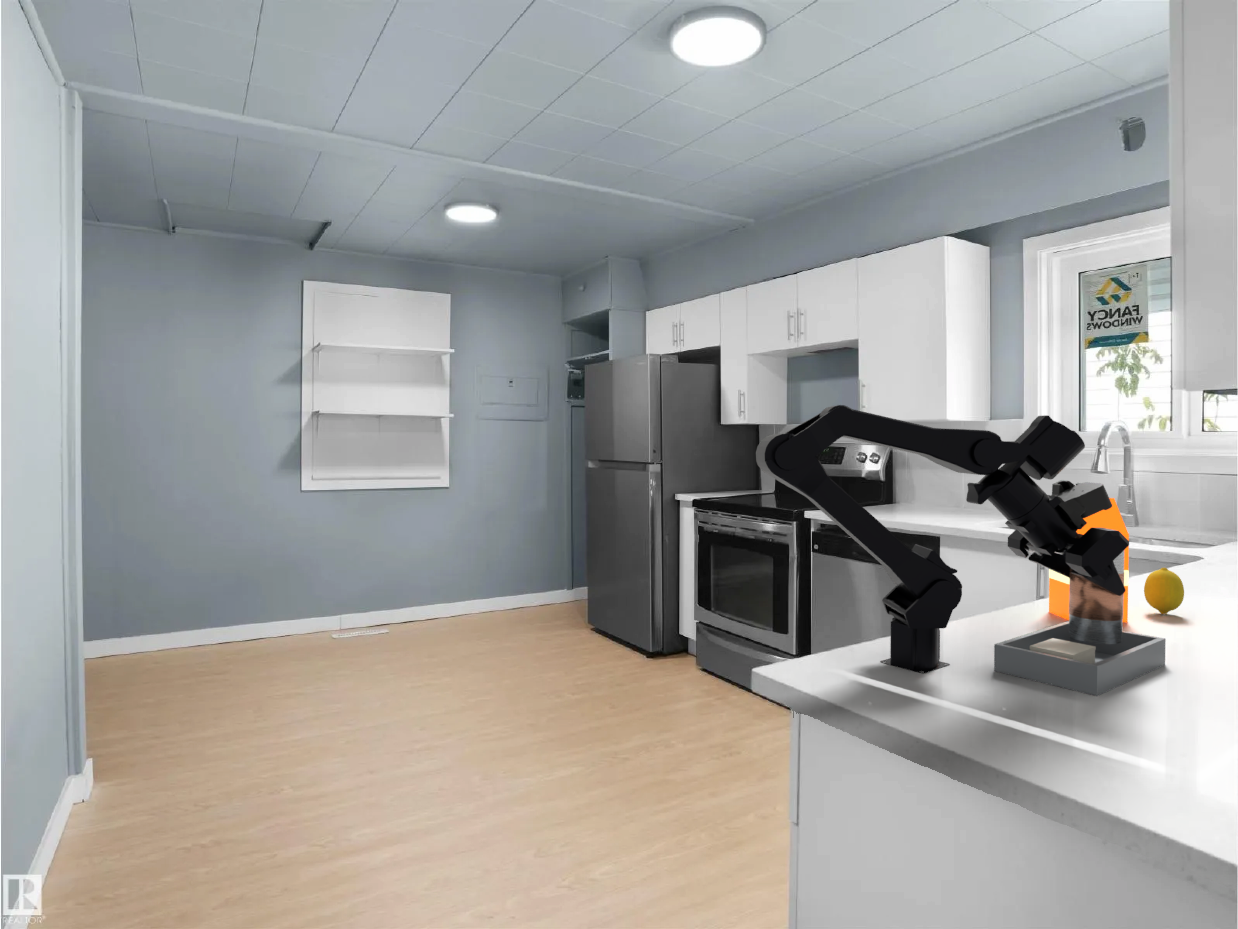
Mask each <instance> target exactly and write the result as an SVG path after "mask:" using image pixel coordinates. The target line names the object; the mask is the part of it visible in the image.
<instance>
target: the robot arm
mask: <svg viewBox="0 0 1238 929" xmlns="http://www.w3.org/2000/svg"><path fill="white" fill-rule="evenodd" d="M841 438H845V439H850V440H855V441H860V442H863V443H868V444H871V445H872V444H873V445H876V446H881V447H886V448H889V449H894V450H896V451H897V450H898V451H902V452H906V453H911V454H916V455H919V456H921V457H923V458H925V459H927V460H929V461H931V462H933V463H935V464H937V465H939V466H940V467H943V468H945V469H949V470H950V471H953V472H956V473H960V474H967V475H978V476H983V477H982V478H981V479H980V480H979V481H978V482H975V483H974V482H967V493H966V498H965V499H966V502H967V503H968V504H969V503H970V504H976V505H983V504H985V502H986V501H987V500H988V502H990V504H992V505H993V507H995V508H996V509H997V511H999V512H1000V513H1001V515H1002V516H1003V517H1005V519H1006V520H1007V521H1006V522H1005V525H1006V526H1007V527H1008V528H1009V529H1012V530H1014V531H1012V533H1011V534H1009V536H1007V548H1009V549H1010V550H1011V551H1012V552H1013V553H1014V555H1015V556H1017V557H1021V558H1025V559H1026V558H1027V559H1028V561H1030V562H1033V563H1034V564H1036V565H1039V566H1041V567H1044V568H1045V569H1048V570H1049V569H1050V570H1053V571H1055V572H1057V573H1059V574H1062V575H1064V576H1066V577H1069V578H1070V567H1071V568H1072V569H1073V570H1072V571H1071V573H1073V574H1075V575H1077V576H1079V577H1081V578H1083V579H1085V580H1087V581H1089V582H1091V583H1093V584H1095V585H1097V586H1099V587H1101V588H1103V589H1105V590H1107V591H1109V592H1112V593H1114V594H1116V595H1118V596H1121V595H1122V594H1123V593H1124V592H1125V591H1126V589H1125V587H1124V585H1123V583H1122V581H1121V578H1120V576H1119V574H1118V572H1117V570H1116V567H1115V565H1114V562H1113V560H1114V559H1115V558H1116V557H1118V556H1119V555H1120V554H1121V553H1122V552H1123V551H1124V550H1125V549H1126V548H1127V547H1128V546H1129V547H1130V540H1129V541H1128V540H1127V539H1126V538H1125V537H1124V536H1123V535H1122V534H1121V532H1120V531H1117V530H1112V529H1106V528H1090V529H1089V530H1088V531H1087V532H1086V533H1085V534H1084V535H1083V534H1078V533H1077V532H1076V531H1077V530H1078V529H1082V528H1083V527H1084V526H1085V525H1086V524H1087V522H1086V521H1085V520H1084V519H1083V518H1086V517H1088V516H1091V515H1093V514H1095V513H1097V512H1099V511H1102V510H1108V509H1110V508H1111V507H1112V503H1111V501H1110V499H1109V498H1110V497H1109V494H1108V492H1107V490H1106V488H1105V486H1104V484H1103V483H1100V482H1099V483H1098V482H1088V481H1087V482H1077V483H1075V484H1074V483H1072V482H1071V481H1070V480H1064V479H1061V480H1058V481H1056V482H1055V483H1052V486H1051V488H1052V489H1051V495H1050V494H1047V493H1046V492H1045V491H1044V490H1043V489H1042V488H1041V487H1040V485H1039V484H1038V483H1036V481H1041V480H1042V478H1043V479H1046V480H1053V479H1054V478H1056V477H1057V475H1059V474H1060V473H1061V472H1062V471H1063V470H1065V468H1066V467H1067V466H1068V465H1069V464H1070V463H1071V462H1072V461H1073V460H1074V459H1075V458H1076V457H1077V456H1078V455H1080V453H1081V452H1082V451H1083V450H1084V449H1085V447H1086V444H1085V441H1084V440H1083V439H1082V437H1081V436H1080V435H1079V433H1078V432H1076V430H1072V429H1071V428H1069V427H1067V426H1065V425H1064V424H1062V423H1060V422H1058V421H1056V420H1054V419H1052V418H1051V416H1050V415H1045V414H1044V415H1038V416H1036V418H1035V419H1033V421H1032V422H1031V423H1030V425H1029V427H1028V428H1026V429H1025V430H1024V431H1023V433H1021V435H1019V436H1018V437H1017V438H1016V440H1014V441H1004V440H1002V438H1001V436H1000V435H998V434H997V433H996V432H994V431H991V430H985V429H984V430H983V429H982V430H981V429H964V428H938V427H933V426H932V427H930V426H927V425H922V424H918V423H913V422H909V421H906V420H901V419H896V418H891V417H887V416H883V415H880V414H875V413H871V412H866V411H862V410H857V409H854V408H851V407H849V406H848V405H844V404H837V405H831V406H828V407H826V408H824V409H822V411H820V412H819V413H818V414H816V415H814V416H813V417H811V418H809V419H808V420H806V421H804V422H802V423H800V424H798V425H796V426H795V427H793V428H790V430H788V431H787V432H785V433H772V434H769V435H767V436H765V437H763V439H761V441H760V442H759V444H757V447H756V450H755V462H756V464H757V466H758V467H759V469H760V470H761V471H763V472H764V473H765V474H767V475H768V476H770V477H771V478H773V479H774V480H775V481H778V482H779V483H781V484H783V485H785V486H786V487H788V488H790V489H791V490H793V491H795V492H797V493H799V494H800V495H802V496H804V498H806V499H808V500H809V501H810V502H811V503H812V504H813V505H815V507H816V508H818V509H819V510H820V511H821V512H822V513H823V514H825V516H827V517H828V518H829V519H830V520H831V521H832V522H833V523H834V524H836V525H837V526H838V527H839V528H840V529H841V530H842V531H843V532H845V533H846V534H847V535H848V536H850V538H852V539H853V541H854V542H856V543H857V544H858V545H859V546H861V547H862V548H863V549H864V550H865V551H866V552H867V553H868V554H870V556H872V557H873V558H874V560H876V561H877V562H878V563H880V565H881V566H882V567H883V568H884V570H885V572H886V574H887V576H888V577H889V579H890V580H891V582H892V583H893V584H894V585H895V586H894V587H893V588H892V589H891V590H890V591H889V592H887V594H886V595H885V596H884V597H883V598H882V601H881V602H882V605H883V607H884V610H885V613H886V614H887V615H891V616H892V620H891V621H890V646H889V647H890V651H889V652H890V655H889V656H890V657H889V658H886V659H883V660H880V663H882V664H885V665H889V666H893V667H896V668H899V669H900V668H901V669H904V670H908V671H912V672H914V673H919V674H926V673H930V672H934V671H937V670H939V669H943V668H945V667H946V668H947V667H949V666H951V664H950V663H948V662H944V661H940V657H941V656H940V655H941V654H940V652H941V641H940V640H941V630H940V629H946V628H948V627H947V626H948V624H949V621H950V620H951V619H950V618H951V617H952V613H953V611H954V610H955V609H956V608H957V607H958V606H959V604H960V602H961V599H962V595H963V585H962V584H963V583H962V582H961V580H960V579H959V578H958V577H957V576H956V575H955V574H956V573H958V569H955V568H953V567H950V566H949V565H948V564H947V563H945V561H944V560H943V559H942V558H941V557H940V555H939V554H938V553H937V552H936V551H935V550H933V549H930V548H927V547H925V546H922V545H919V544H916V543H915V544H914V545H913V547H912V548H910V547H909V546H908V545H906V544H905V543H903V541H902V540H900V539H899V538H898V537H897V536H896V535H895V534H894V533H893V532H891V531H890V530H889V529H888V528H887V527H886V526H885V525H883V524H882V523H881V522H880V521H879V520H878V519H877V518H876V517H875V516H873V515H872V514H871V513H870V512H869V511H868V510H867V509H865V508H864V507H863V506H862V505H861V504H860V503H859V502H858V501H857V500H855V498H854V497H852V496H851V495H850V494H849V493H848V492H847V491H846V490H844V488H842V487H841V486H840V485H838V483H836V481H834V480H833V479H832V478H831V477H830V476H829V474H828V472H827V471H826V469H825V467H824V466H823V464H822V463H821V461H820V459H819V457H818V455H819V454H821V453H822V452H824V451H825V450H826V449H828V448H829V447H830V446H831V445H832V444H834V443H835V442H836V441H838V440H840V439H841ZM1034 480H1036V481H1034ZM1029 553H1030V555H1029Z"/></svg>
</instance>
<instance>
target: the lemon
mask: <svg viewBox="0 0 1238 929" xmlns="http://www.w3.org/2000/svg"><path fill="white" fill-rule="evenodd" d="M1144 582H1145V583H1144V586H1143V589H1144V590H1143V592H1144V598H1145V600H1146V602H1147V603H1148V605H1149V606H1150V607H1152V608H1153V609H1155V610H1157V611H1158V612H1159V613H1160V614H1161V615H1167V614H1168V613H1170V612H1172V611H1174V610H1176V609H1177V608H1179V607H1180V606H1181V605H1182V603H1183V601H1184V598H1185V588H1184V584H1183V582H1182V579H1181V577H1180V576H1179V575H1178V574H1177V573H1175V572H1174V571H1171V570H1170V569H1168V567H1161V568H1160V569H1156V570H1153V571H1152V572H1151V573H1149V574H1148V576H1147V577H1146V579H1145V581H1144Z"/></svg>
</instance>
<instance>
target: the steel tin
mask: <svg viewBox="0 0 1238 929" xmlns="http://www.w3.org/2000/svg"><path fill="white" fill-rule="evenodd" d="M1124 551H1125V550H1124ZM1124 551H1123V552H1122V553H1121V554H1120V555H1119V556H1118V557H1116V558H1115V559H1114V560H1113V562H1114V565H1115V567H1116V570H1117V572H1118V574H1119V576H1120V578H1121V581H1122V583H1123V585H1124ZM1072 570H1073V569H1072V568H1071V567H1070V582H1069V620H1068V621H1069V636H1070V637H1071V638H1074V639H1077V640H1080V641H1085V642H1090V643H1098V644H1118V643H1121V642H1122V631H1123V624H1124V622H1123V606H1124V593H1123V594H1122V595H1121V596H1118V595H1116V594H1114V593H1112V592H1109V591H1107V590H1105V589H1103V588H1101V587H1099V586H1097V585H1095V584H1093V583H1091V582H1089V581H1087V580H1085V579H1083V578H1081V577H1079V576H1077V575H1075V574H1073V573H1071V571H1072Z"/></svg>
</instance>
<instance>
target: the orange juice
mask: <svg viewBox="0 0 1238 929" xmlns="http://www.w3.org/2000/svg"><path fill="white" fill-rule="evenodd" d="M1109 499H1110V501H1111V503H1112V507H1111V508H1110V509H1108V510H1102V511H1099V512H1097V513H1095V514H1093V515H1091V516H1088V517H1086V518H1083V519H1084V520H1085V521H1086V522H1087V524H1086V525H1085V526H1084V527H1083V528H1082V529H1078V530H1077V531H1076V532H1077V533H1078V534H1083V535H1084V534H1085V533H1086V532H1087V531H1088V530H1089V529H1090V528H1106V529H1112V530H1117V531H1120V532H1121V534H1122V535H1123V536H1124V537H1125V538H1126V539H1127V540H1128V541H1129V542H1130V533H1129V531H1128V529H1127V527H1126V524H1125V522H1124V520H1123V516H1122V514H1121V512H1120V509H1119V507H1118V504H1117V501H1116V500H1115V499H1116V498H1115V497H1109ZM1129 549H1130V545H1129V546H1128V547H1127V548H1126V549H1125V551H1124V587H1125V589H1126V591H1125V592H1124V606H1123V623H1128V622H1129V621H1128V620H1129V617H1128V614H1129V613H1128V612H1129V584H1130V583H1129V581H1130V578H1129V576H1130V575H1129V574H1130V572H1129V571H1130V569H1129V554H1130V553H1129V552H1130V550H1129ZM1048 578H1049V581H1048V582H1049V583H1048V584H1049V585H1048V613H1050V614H1053V615H1055V616H1057V617H1060V618H1062V619H1064V620H1067V621H1069V582H1070V578H1069V577H1066V576H1064V575H1062V574H1059V573H1057V572H1055V571H1053V570H1050V569H1048Z"/></svg>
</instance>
